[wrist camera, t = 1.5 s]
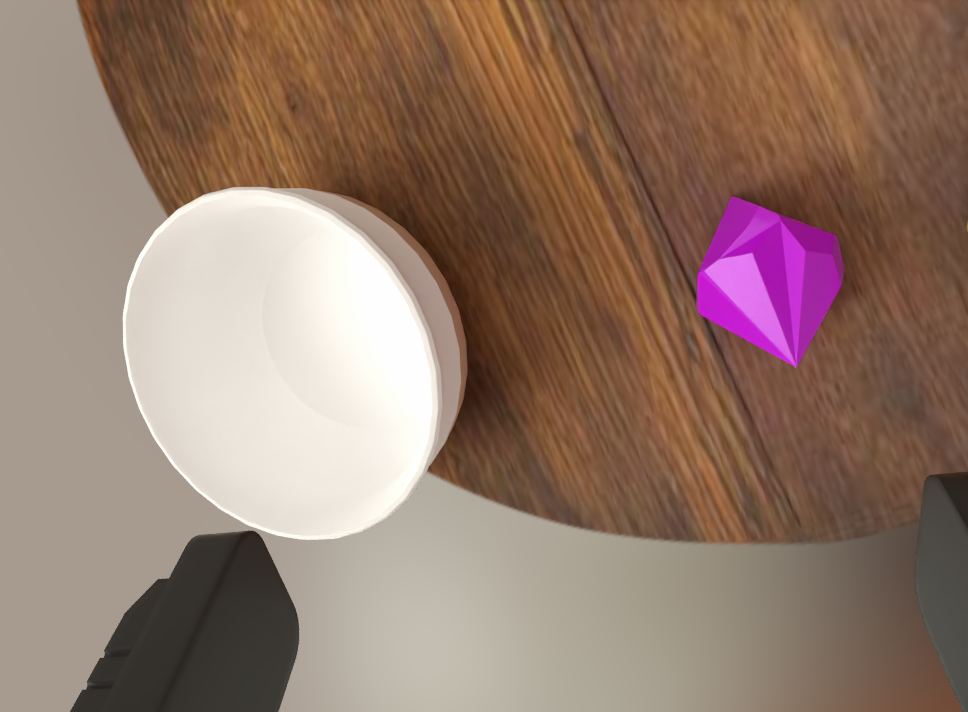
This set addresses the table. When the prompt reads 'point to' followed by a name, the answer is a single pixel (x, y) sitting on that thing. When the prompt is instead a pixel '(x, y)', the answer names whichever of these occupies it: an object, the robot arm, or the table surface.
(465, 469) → the table surface
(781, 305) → the crystal
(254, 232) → the bowl
